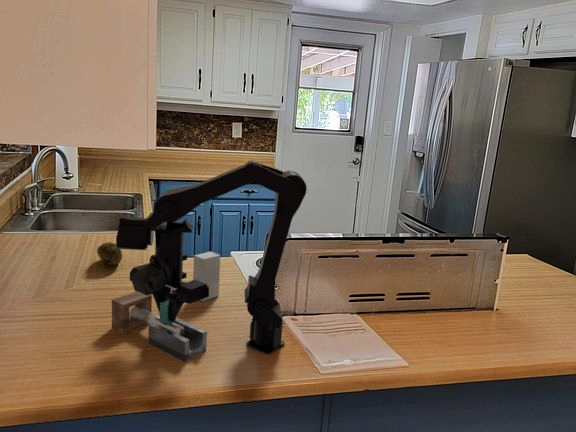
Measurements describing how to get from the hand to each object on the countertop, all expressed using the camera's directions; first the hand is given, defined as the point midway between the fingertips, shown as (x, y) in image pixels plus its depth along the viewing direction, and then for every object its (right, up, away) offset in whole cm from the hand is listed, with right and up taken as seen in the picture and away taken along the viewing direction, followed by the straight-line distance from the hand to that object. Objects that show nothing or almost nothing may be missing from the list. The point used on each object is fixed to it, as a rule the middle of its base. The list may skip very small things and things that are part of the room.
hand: (167, 319), depth 106 cm
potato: (-29, +7, +44) cm, 53 cm away
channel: (+2, -6, 0) cm, 6 cm away
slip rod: (-3, -3, +3) cm, 5 cm away
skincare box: (+4, 0, +27) cm, 27 cm away
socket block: (-10, -3, +8) cm, 13 cm away
